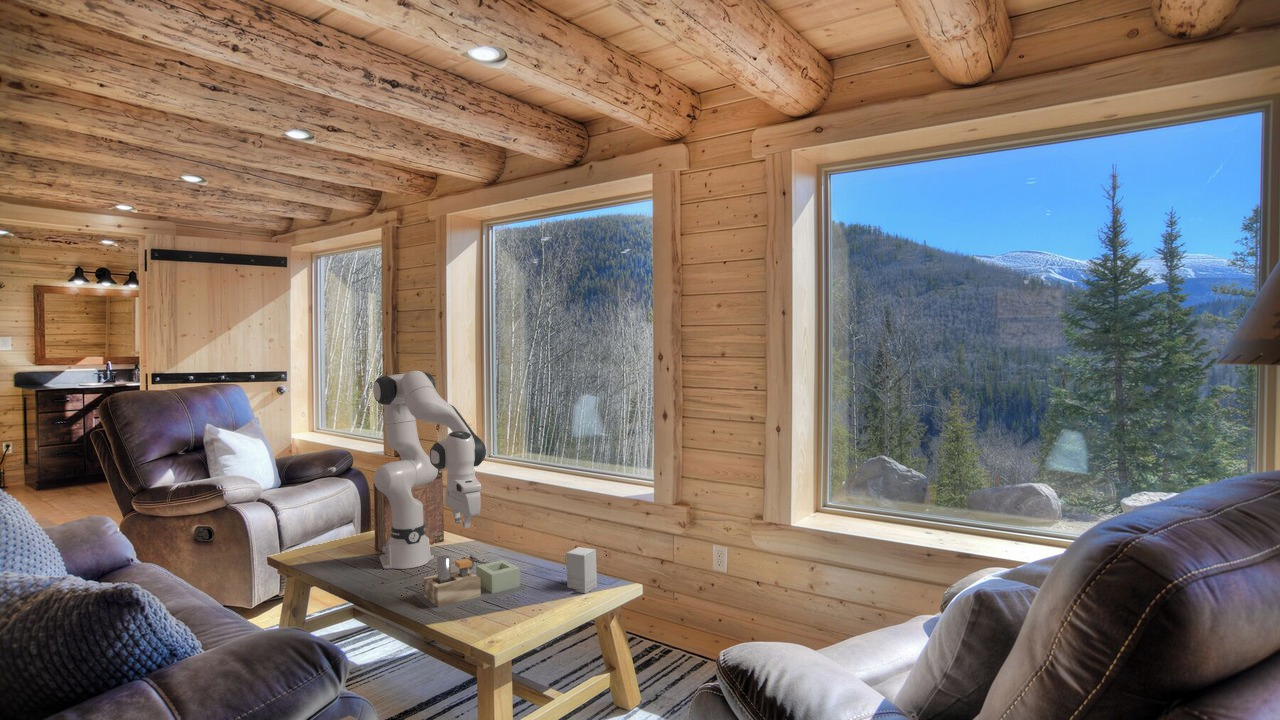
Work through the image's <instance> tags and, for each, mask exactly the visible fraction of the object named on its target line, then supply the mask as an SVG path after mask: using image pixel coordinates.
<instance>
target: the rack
mask: <svg viewBox="0 0 1280 720" xmlns="http://www.w3.org/2000/svg"><path fill="white" fill-rule="evenodd" d="M475 569H476V570H475V572H476V574H475V575H477V576H478V577H480V584H481V587H483V588H485V589H486V590H488V591H489V592H491V593H496V592H500V591H504V590H507V589H511V588H515V587H519V586H520V584H521V569H520V567H519V566H516V565H515V564H513V563H511V562H509V561H507V560H505V559H500V560H496V561H492V562H488V563H486V564H482V563H481V564H478V565H476V567H475Z"/></svg>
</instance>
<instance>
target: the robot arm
mask: <svg viewBox="0 0 1280 720" xmlns="http://www.w3.org/2000/svg"><path fill="white" fill-rule="evenodd" d="M372 386H373V387H372V389H373V390H372V393H373V397H374V399H375V400H376V402H377V403H378V404H379V405H384V412H383V413H384V415H383V416H384V418H383V419H384V427H385V436H386V443H387V445H388V447H389V448H390V449H392V450H394V451H396V452H397V453H398V454H399V457H400V460H396V461H391V462H387V463H385V464H383V465H381V466H379V467H377V468H376V470H375V471H374V473H373V485H374V484H375V486H376V488H377V489H378V490H379V491H381V492H382V493H384V494H385V495H386V496H387V498H388V500H389V502H390V505H391V509H392V523H393V526H392V528H391V538H390V539H389V540H388V542H387V543H386V547H382V551H383V552H382V551H381V552H382V554H381V555H379V561H380V563H381V566H382V568H383V569H384V570H385V569H395V570H396V569H399V570H401V569H402V570H403V569H413V568H417V567H421V566H424V565H426V564H428V563H429V562H430V561H432V560H433V559H435V556H434V554H431V548H430V547H431V545H429V538H428V537H427V536H425V524H424V520H423V504H422V503H421V502H420V501H419V500H418V499H415V498H413V496H412V492H411V488H414V487H419V486H423V485H426V484H428V483H430V482H432V481H433V480H435V479H436V477H437V474H438V469H439V470H442V471H444V470H445V471H446V486H445V493H444V494H445V495H444V504H445V506H446V508H449V509H451V510H452V513H453V514H452V515H453V518H454V523H455V524H456V525H459V524H462V527H463V528H465V529H468V528H471V521H472V517H477V516H479V515H480V513H481V507H482V506H481V505H482V504H481V502H482V500H481V496H482V495H481V490H482V484H481V482H480V481H479V480H478V478H477V477H476V469H475V467H478V466H480V465H481V464H482V462H483V461H484V460H485V458H486V455H487V448H486V445H485V443H484V441H483V440H482V439H481V438H480V437H479V436H477V435H476V433H475V432H474V430H472V428H471V427H470V425H469V424H468V423H467V421H466V420H465V419H464V417H463V416H462V414H461V413H460V412H459V410H458V409H457V408H456V407H455V406H454V405H452V404H451V403H449V402H447V401H446V400H445V399H443V398H442V397H441V396H440V394H439V393H438V392H437V390H436V382H435V378H434V376H433V375H432V374H431V373H430V372H429V373H428V372H424V371H421V370H410V371H408V372H403V373H396V374H392V375H383V376H379V377H377V378H376V379H375V381H374V383H373V385H372ZM417 420H418V421H421V422H426V423H432V424H438V425H442V426H445V427H447V428H448V429H450V430H451V431H452V432H449V433H448V434H447V436H446V438H444V439H442V440H440V441H436V442H435V443H434V444H433V445H432V447H431V448H430V451H429V455H428V454H427V453H426V452H425V450H424V448H423V447H422V445H421V442H420V438H419V433H418V427H417ZM461 514H462V515H463V518H464V519H463V520H462V516H461ZM462 521H463V522H462ZM385 553H386V554H385Z"/></svg>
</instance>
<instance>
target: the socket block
mask: <svg viewBox="0 0 1280 720" xmlns="http://www.w3.org/2000/svg"><path fill="white" fill-rule="evenodd" d="M423 593H424V597H425V598H427V599H428V600H429V601H430V602H432V603H433V604H434V605H436V606H437V607H442V606H446V605H450V604H453V603H457V602H461V601H465V600H469V599H473V598H477V597H480V596H481V584H480V577H478V576H477V575H476V574H474V573H473V572H471V571H470V570H468V576H465V577H460V573H459V569H457V570H451V581H450V582H446V583H442V584H438V574H434V575H430V576H426V577H423Z"/></svg>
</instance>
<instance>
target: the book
mask: <svg viewBox="0 0 1280 720" xmlns="http://www.w3.org/2000/svg"><path fill="white" fill-rule="evenodd" d="M443 485H444V484H443V470H440V469H438V474H437V477H436V479H435V480H433V481H432V482H430V483H428V484H426V485H423V486H419V487H414V488H411V492H412V496H413V498H415V499H418V500H419V501H420V502H421V503H422V504H423V520H424V524H425V536H427V537H428V538H429V546H431V545H434V543H435V544H437V543H442V542H444V541H445V535H444V533H445V531H444V492H443V491H444V486H443ZM373 513H374V514H373V516H374V519H373V520H374V551H375V550H378V551H380V552H382V553H383V551H382V547H386V543H387V542H388V540H389V539H390V538H391V528H392V526H393V523H392V509H391V505H390V502H389V500H388V498H387V496H386V495H385V494H384V493H382V492H381V491H379V490H378V489H377V488H376V486H375V484H374V483H373ZM430 544H431V545H430ZM384 554H386V553H384Z"/></svg>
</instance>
